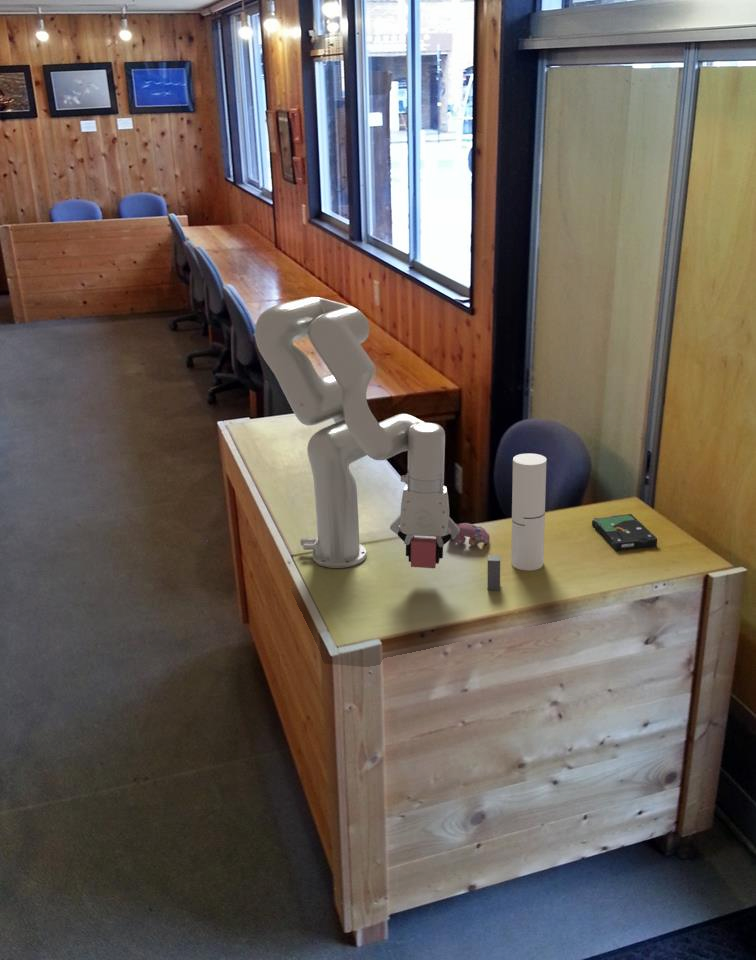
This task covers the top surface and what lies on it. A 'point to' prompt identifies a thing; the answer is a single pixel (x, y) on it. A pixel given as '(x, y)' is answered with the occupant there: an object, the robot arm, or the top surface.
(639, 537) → the disk drive
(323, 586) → the top surface
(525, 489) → the cylindrical container
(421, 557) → the pink matte cube
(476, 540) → the purple lumpy figure
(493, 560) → the post
